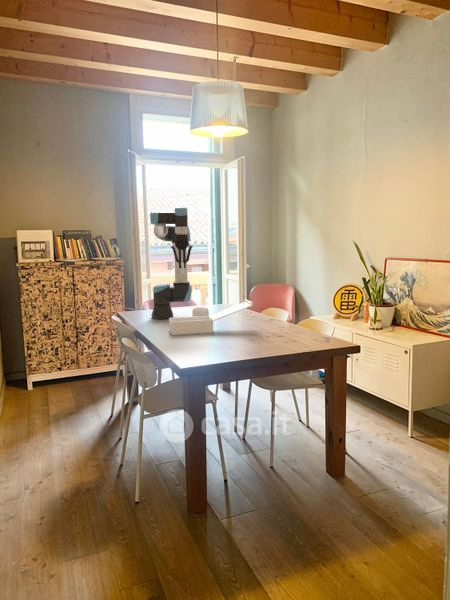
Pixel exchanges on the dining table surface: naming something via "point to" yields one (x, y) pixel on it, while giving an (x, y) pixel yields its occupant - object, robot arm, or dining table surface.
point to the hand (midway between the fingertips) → (182, 273)
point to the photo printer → (200, 311)
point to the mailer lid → (231, 310)
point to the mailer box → (190, 325)
